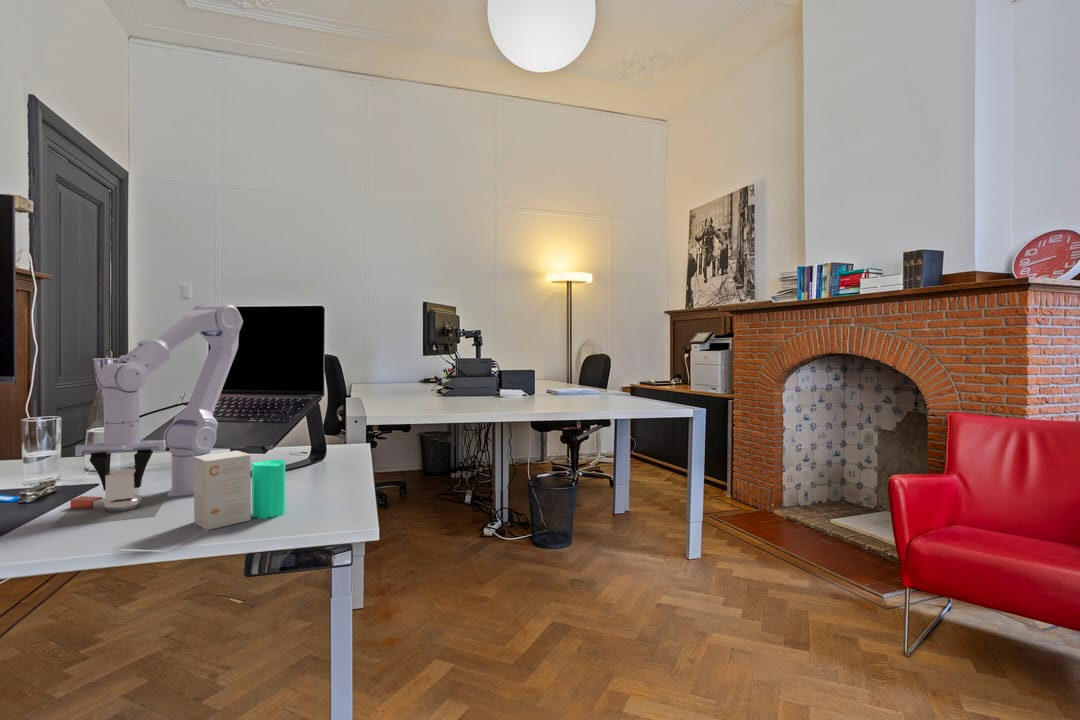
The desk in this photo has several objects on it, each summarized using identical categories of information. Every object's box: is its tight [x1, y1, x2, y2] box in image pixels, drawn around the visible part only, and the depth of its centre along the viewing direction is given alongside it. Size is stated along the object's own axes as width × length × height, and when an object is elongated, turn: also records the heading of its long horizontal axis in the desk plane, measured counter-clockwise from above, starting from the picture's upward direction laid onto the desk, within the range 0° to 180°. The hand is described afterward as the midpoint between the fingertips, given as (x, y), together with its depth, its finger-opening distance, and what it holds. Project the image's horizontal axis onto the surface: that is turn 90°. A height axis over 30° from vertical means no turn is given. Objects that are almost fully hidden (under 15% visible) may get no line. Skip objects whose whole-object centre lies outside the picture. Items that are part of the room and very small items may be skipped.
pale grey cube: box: [104, 468, 140, 500], centre depth 112 cm, size 5×5×5 cm
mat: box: [48, 495, 168, 529], centre depth 111 cm, size 16×16×1 cm
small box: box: [193, 450, 252, 531], centre depth 105 cm, size 8×6×13 cm
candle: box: [251, 454, 286, 519], centre depth 111 cm, size 6×6×12 cm
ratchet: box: [69, 494, 142, 513], centre depth 112 cm, size 13×6×5 cm, turn 87°
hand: (122, 487), depth 112 cm, fingers closed on pale grey cube, 4 cm apart
